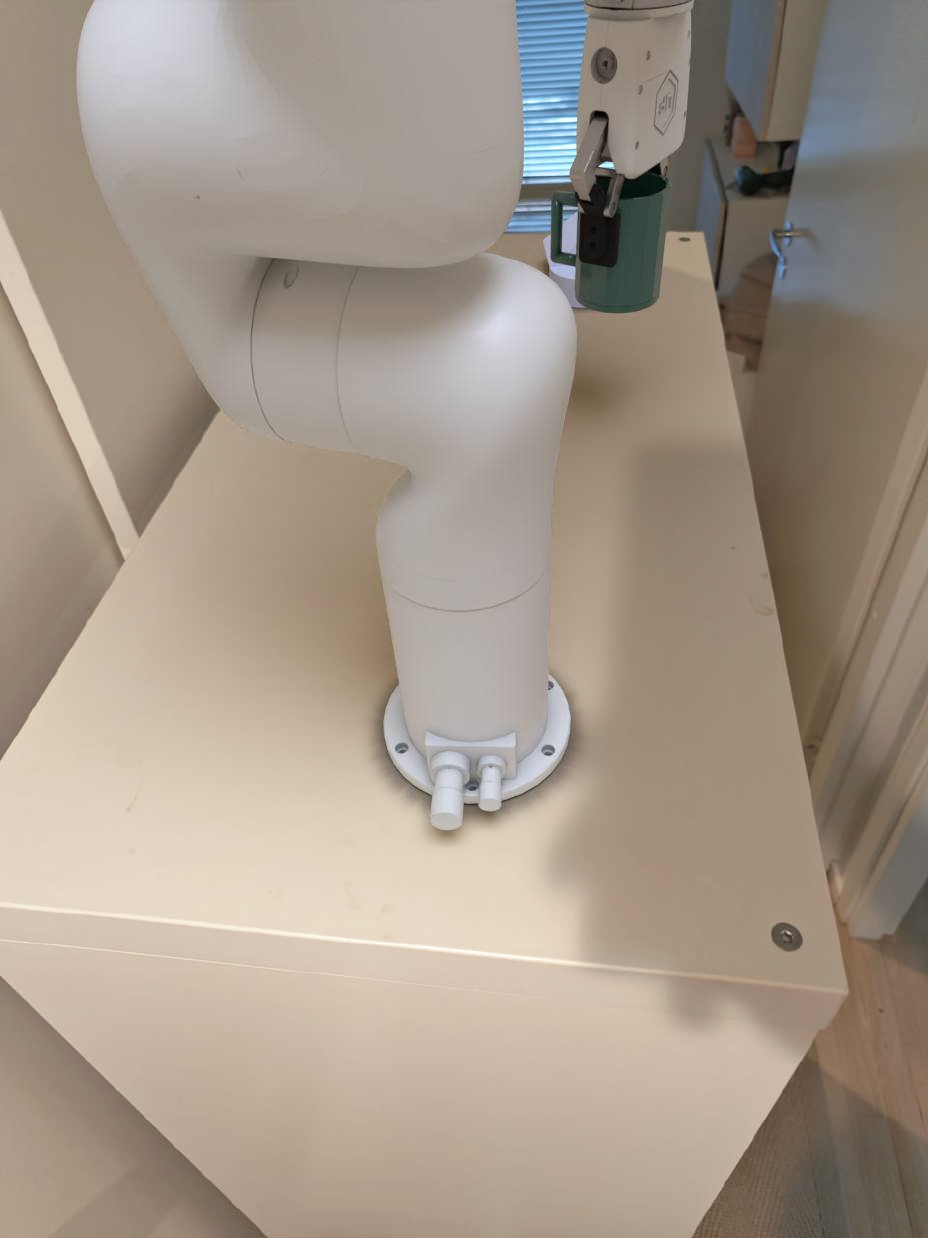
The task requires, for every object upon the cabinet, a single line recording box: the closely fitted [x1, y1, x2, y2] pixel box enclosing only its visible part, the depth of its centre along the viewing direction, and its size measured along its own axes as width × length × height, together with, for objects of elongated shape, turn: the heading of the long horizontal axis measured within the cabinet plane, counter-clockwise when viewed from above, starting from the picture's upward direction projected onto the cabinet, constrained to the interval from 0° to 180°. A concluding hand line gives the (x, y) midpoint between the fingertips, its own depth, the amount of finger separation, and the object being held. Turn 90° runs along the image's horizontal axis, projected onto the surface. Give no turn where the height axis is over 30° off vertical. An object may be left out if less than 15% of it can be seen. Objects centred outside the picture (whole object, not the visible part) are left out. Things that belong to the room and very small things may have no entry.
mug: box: [550, 171, 672, 314], centre depth 71 cm, size 10×7×9 cm
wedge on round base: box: [542, 211, 587, 309], centre depth 104 cm, size 9×7×13 cm
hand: (620, 244), depth 70 cm, fingers closed on mug, 7 cm apart
